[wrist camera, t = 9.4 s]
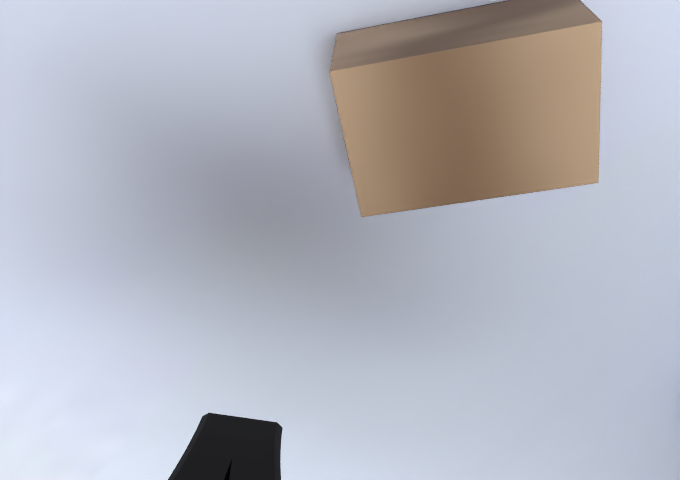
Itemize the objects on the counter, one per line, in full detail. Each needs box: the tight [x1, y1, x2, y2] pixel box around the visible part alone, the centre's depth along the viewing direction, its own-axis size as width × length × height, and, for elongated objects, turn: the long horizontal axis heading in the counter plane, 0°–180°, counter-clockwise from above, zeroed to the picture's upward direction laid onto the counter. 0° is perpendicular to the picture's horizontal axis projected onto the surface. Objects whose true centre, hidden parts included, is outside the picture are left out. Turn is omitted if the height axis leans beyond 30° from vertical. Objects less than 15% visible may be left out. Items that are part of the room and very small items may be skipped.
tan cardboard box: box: [329, 0, 602, 217], centre depth 16 cm, size 6×4×3 cm, turn 102°
